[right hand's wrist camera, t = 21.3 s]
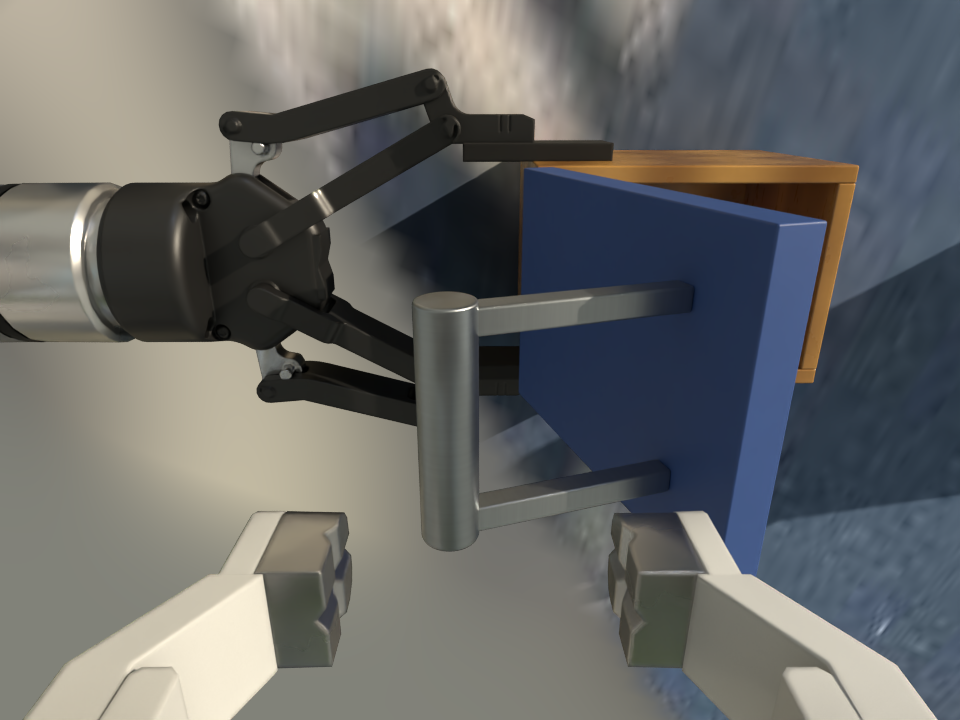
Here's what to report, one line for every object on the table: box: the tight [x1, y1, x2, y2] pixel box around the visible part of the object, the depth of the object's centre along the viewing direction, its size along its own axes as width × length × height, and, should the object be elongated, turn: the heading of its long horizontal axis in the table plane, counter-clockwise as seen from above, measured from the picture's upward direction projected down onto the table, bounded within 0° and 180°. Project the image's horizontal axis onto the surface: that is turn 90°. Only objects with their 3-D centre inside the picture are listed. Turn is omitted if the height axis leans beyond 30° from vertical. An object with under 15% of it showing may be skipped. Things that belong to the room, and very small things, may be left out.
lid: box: [412, 167, 827, 577], centre depth 20 cm, size 13×10×8 cm
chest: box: [518, 150, 859, 383], centre depth 32 cm, size 13×10×10 cm
